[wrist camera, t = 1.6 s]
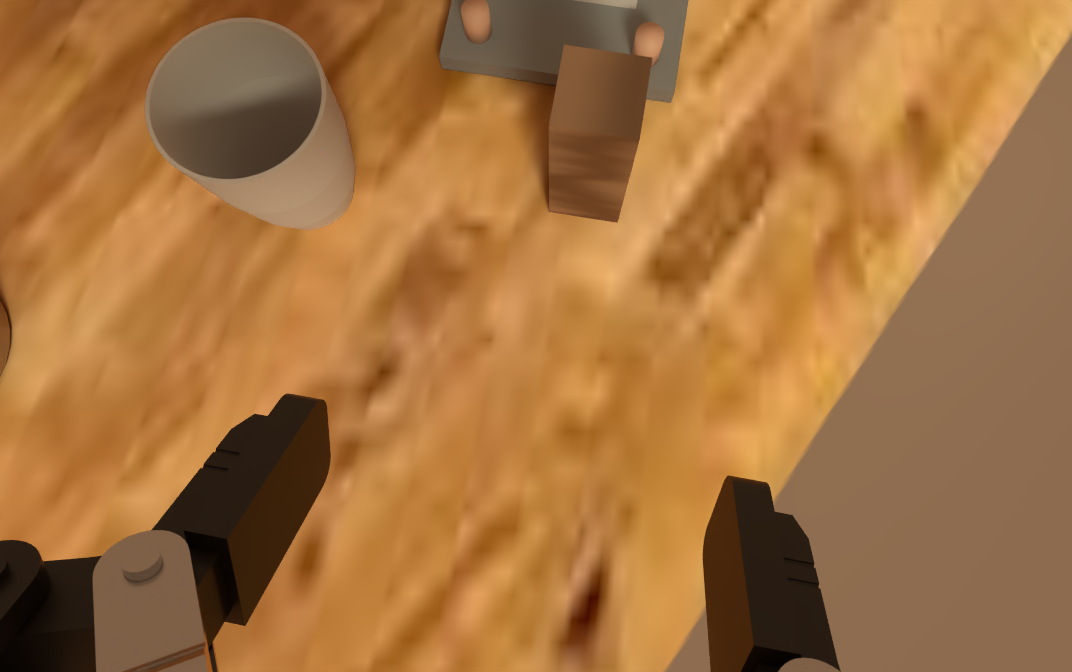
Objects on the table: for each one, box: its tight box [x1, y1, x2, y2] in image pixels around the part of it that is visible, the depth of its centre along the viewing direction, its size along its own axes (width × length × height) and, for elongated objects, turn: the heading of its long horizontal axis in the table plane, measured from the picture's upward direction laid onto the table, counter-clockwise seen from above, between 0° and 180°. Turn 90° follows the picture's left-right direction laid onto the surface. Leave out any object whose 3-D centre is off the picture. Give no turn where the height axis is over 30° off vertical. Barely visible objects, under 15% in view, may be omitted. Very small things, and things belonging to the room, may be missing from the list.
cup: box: [145, 18, 355, 230], centre depth 35 cm, size 8×8×10 cm
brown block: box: [549, 45, 652, 222], centre depth 35 cm, size 4×4×10 cm
